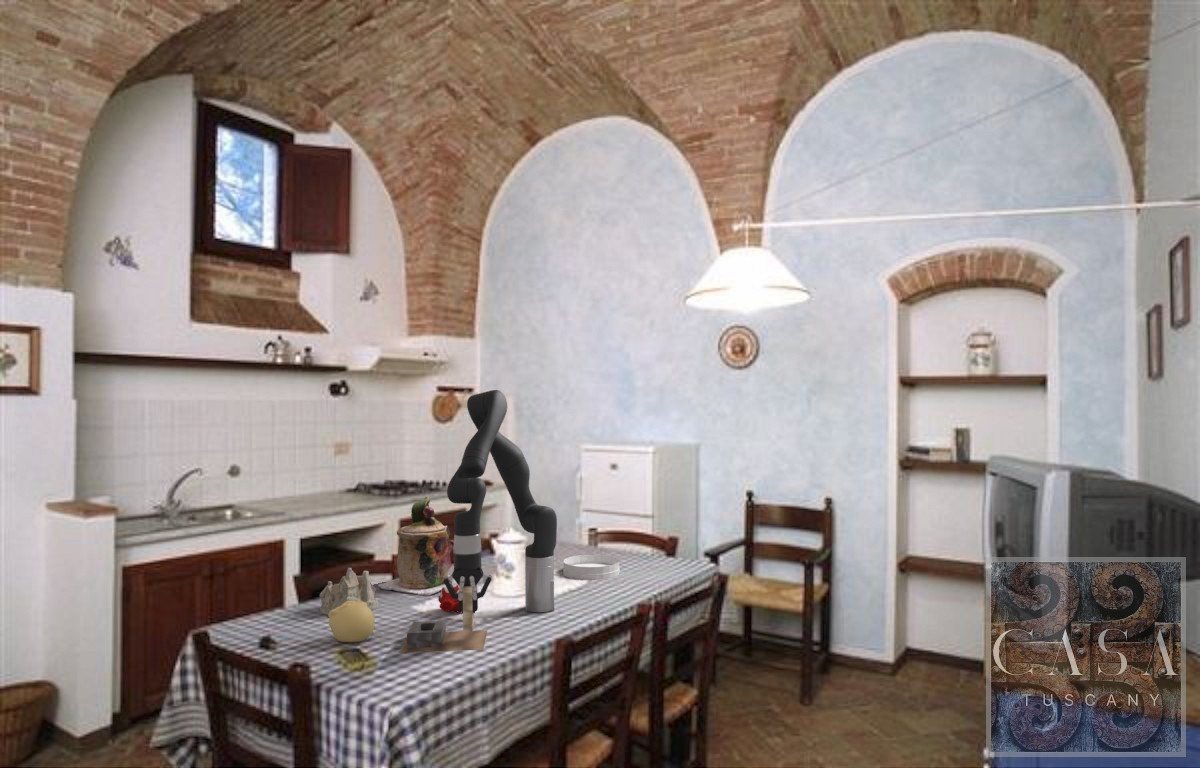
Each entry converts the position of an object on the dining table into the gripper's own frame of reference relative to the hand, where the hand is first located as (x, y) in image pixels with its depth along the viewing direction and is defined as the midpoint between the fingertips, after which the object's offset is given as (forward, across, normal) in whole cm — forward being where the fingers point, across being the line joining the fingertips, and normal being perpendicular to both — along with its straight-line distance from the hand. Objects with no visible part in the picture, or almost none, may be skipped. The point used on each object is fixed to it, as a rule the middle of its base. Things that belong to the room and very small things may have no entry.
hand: (468, 612), depth 204 cm
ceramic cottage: (+9, +42, -40) cm, 59 cm away
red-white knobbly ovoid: (+9, +7, -34) cm, 36 cm away
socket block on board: (+9, +6, 0) cm, 11 cm away
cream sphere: (+9, +33, -9) cm, 36 cm away
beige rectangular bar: (+4, 0, 0) cm, 4 cm away
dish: (+10, -40, -80) cm, 90 cm away
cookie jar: (+10, +22, -68) cm, 73 cm away
